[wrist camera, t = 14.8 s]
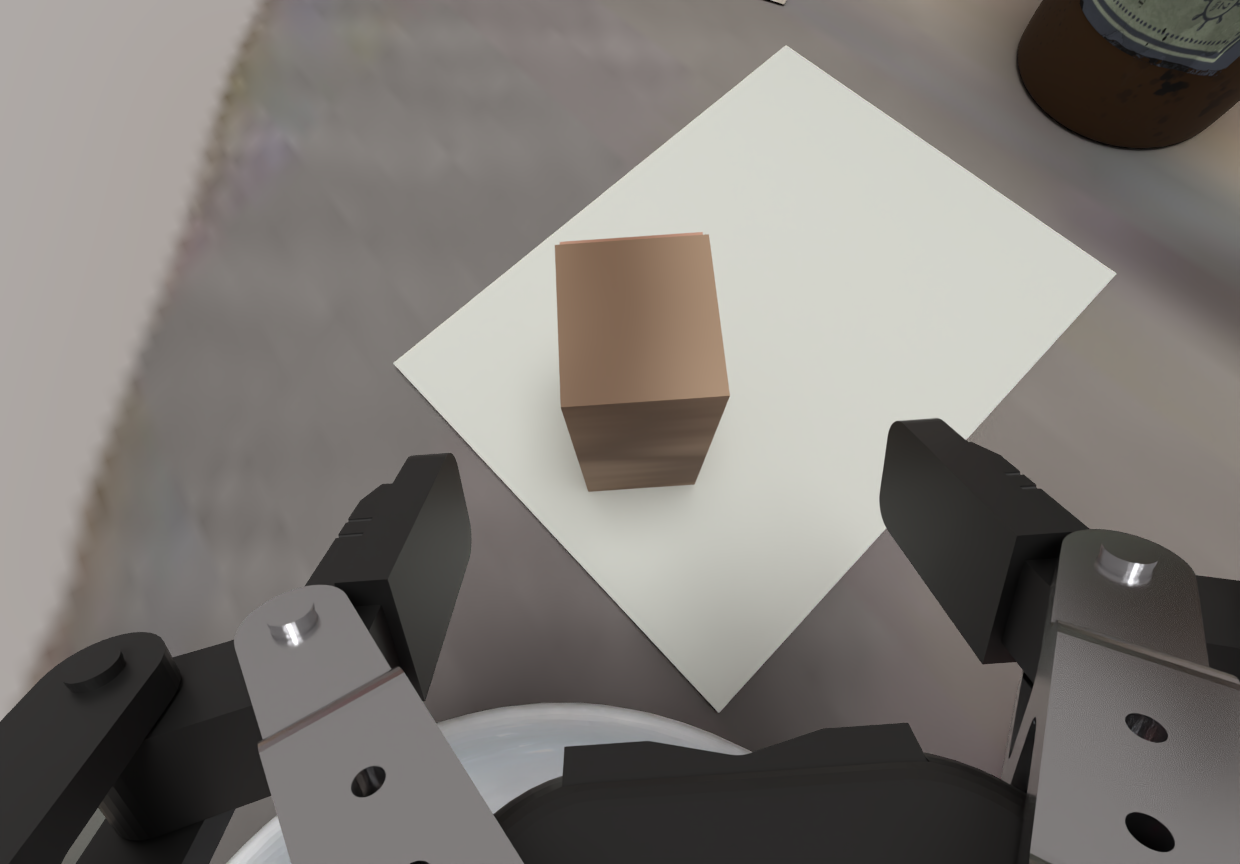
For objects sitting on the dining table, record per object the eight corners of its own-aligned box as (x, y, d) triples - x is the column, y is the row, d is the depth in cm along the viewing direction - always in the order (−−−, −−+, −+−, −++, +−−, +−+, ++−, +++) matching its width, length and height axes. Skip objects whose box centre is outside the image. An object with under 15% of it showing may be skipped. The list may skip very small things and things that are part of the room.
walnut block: (682, 367, 24) (707, 224, 16) (694, 484, 23) (729, 395, 14) (582, 374, 24) (554, 234, 16) (588, 491, 23) (560, 407, 14)
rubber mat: (1109, 278, 26) (1116, 273, 25) (717, 711, 21) (718, 713, 20) (783, 52, 30) (786, 45, 30) (396, 367, 25) (393, 363, 25)
